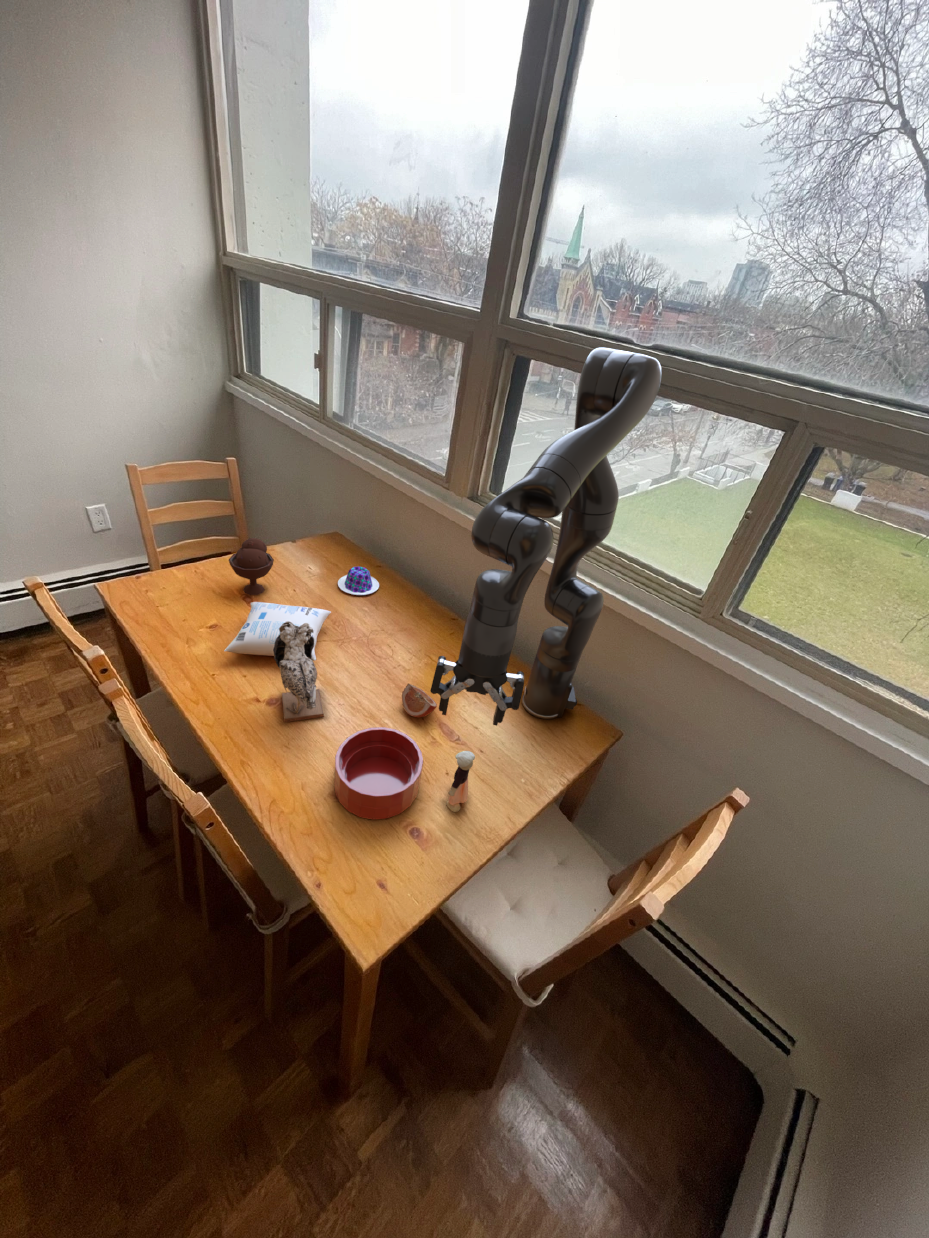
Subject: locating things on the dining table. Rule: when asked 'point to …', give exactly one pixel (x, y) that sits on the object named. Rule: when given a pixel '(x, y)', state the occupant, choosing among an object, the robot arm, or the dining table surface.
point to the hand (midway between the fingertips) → (469, 716)
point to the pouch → (273, 627)
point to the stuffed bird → (297, 672)
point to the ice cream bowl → (252, 564)
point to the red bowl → (377, 772)
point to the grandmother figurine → (460, 781)
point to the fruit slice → (417, 701)
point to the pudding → (358, 582)
